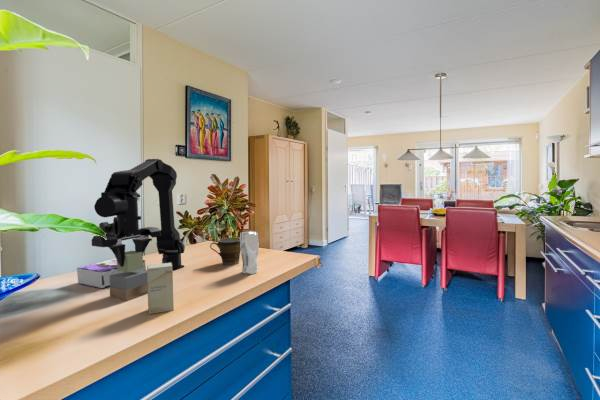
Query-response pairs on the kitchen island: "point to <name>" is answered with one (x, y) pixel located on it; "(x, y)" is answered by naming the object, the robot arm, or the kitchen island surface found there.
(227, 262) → the ceramic cup
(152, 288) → the skincare box
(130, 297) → the walnut block
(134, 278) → the charcoal block
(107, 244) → the robot arm
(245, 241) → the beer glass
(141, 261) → the olive cube
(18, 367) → the kitchen island surface
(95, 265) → the candy box
